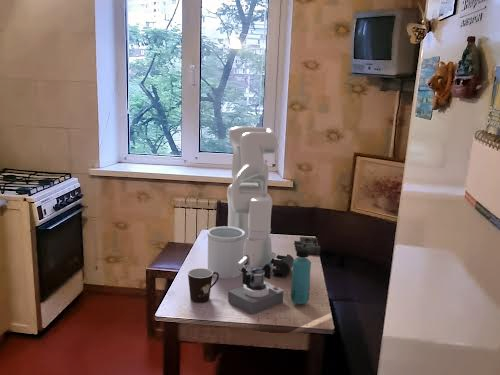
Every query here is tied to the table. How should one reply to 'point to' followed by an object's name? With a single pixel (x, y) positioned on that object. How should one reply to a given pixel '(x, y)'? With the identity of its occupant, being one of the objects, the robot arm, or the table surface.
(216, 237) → the utensil holder
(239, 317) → the table surface
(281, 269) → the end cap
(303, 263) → the beverage bottle
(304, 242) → the binoculars
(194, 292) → the coffee mug
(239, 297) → the camera body
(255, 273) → the lens
